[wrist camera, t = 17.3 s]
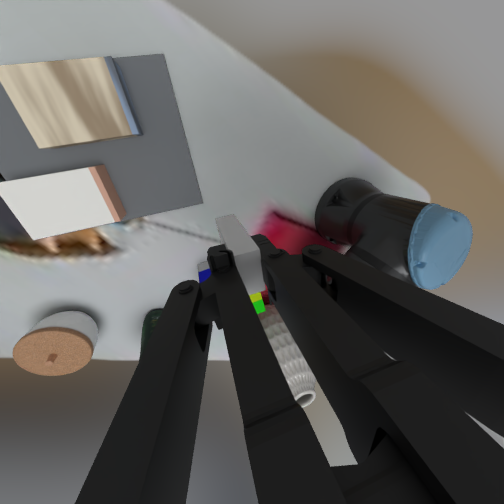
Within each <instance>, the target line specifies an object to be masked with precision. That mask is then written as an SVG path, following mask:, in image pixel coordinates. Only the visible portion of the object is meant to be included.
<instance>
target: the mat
mask: <svg viewBox="0 0 504 504" xmlns="http://www.w3.org/2000/svg"><path fill="white" fill-rule="evenodd" d="M113 60H114V61H115V62H116V63H117V64H118V66H119V67H120V69H121V72H122V75H123V78H124V80H125V83H126V86H127V89H128V92H129V95H130V98H131V100H132V103H133V106H134V109H135V112H136V115H137V118H138V120H139V123H140V126H141V129H142V132H143V135H142V136H135V137H128V138H122V139H115V140H109V141H102V142H96V143H89V144H82V145H76V146H69V147H63V148H54V149H39V147H38V146H37V144H36V142H35V141H34V139H33V137H32V135H31V134H30V132H29V130H28V128H27V127H26V125H25V123H24V122H23V120H22V118H21V116H20V115H19V113H18V111H17V110H16V108H15V106H14V104H13V103H12V101H11V99H10V97H9V96H8V94H7V92H6V91H5V89H4V87H3V85H2V84H1V82H0V173H1V174H2V175H3V177H4V178H5V180H6V181H11V180H16V179H22V178H28V177H34V176H40V175H46V174H51V173H57V172H63V171H69V170H75V169H81V168H87V167H92V166H98V165H105V168H106V170H107V172H108V174H109V176H110V178H111V181H112V183H113V185H114V187H115V189H116V192H117V194H118V196H119V198H120V200H121V202H122V205H123V207H124V209H125V211H126V213H127V214H126V215H125V217H124V218H123V219H122V220H121V221H124V220H129V219H133V218H138V217H142V216H147V215H152V214H156V213H161V212H165V211H170V210H174V209H179V208H184V207H188V206H193V205H197V204H202V203H203V201H202V197H201V193H200V190H199V186H198V182H197V178H196V175H195V171H194V167H193V163H192V160H191V156H190V152H189V148H188V145H187V141H186V137H185V133H184V130H183V126H182V122H181V118H180V114H179V111H178V107H177V103H176V99H175V96H174V92H173V88H172V84H171V81H170V77H169V73H168V69H167V66H166V62H165V58H164V54H155V55H143V56H131V57H120V58H113ZM118 222H120V221H118ZM114 223H115V222H114ZM109 224H111V223H109ZM104 225H106V224H104ZM100 226H101V225H100ZM95 227H97V226H95ZM91 228H92V227H91ZM86 229H88V228H86ZM82 230H83V229H82ZM77 231H79V230H77ZM72 232H74V231H72ZM68 233H70V232H68ZM63 234H65V233H63ZM59 235H60V234H59ZM54 236H56V235H54ZM50 237H51V236H50ZM46 238H47V237H46Z"/></svg>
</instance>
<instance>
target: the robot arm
mask: <svg viewBox="0 0 504 504" xmlns="http://www.w3.org/2000/svg"><path fill="white" fill-rule="evenodd" d="M215 220H216V224H217V228H218V232H219V236H220V240H221V245H217V246H214V247H210V248H209V249H208V251H207V253H208V257H207V261H208V264H209V267H210V271H211V275H210V276H209V278H208V279H206V280H205V281H203V282H201V283H198V282H197V281H195V280H187V281H183V282H181V283H179V284H178V285H176V286H175V287H174V288H173V289H172V291H171V293H170V295H169V298H168V300H167V302H166V304H165V306H164V309H163V311H162V313H161V315H160V317H159V320H158V322H157V324H156V326H155V328H154V331H153V333H152V335H151V337H150V339H149V342H148V344H147V346H146V348H145V350H144V353H143V355H142V357H141V359H140V361H139V364H138V366H137V368H136V370H135V372H134V375H133V377H132V379H131V381H130V383H129V386H128V388H127V390H126V392H125V394H124V397H123V399H122V401H121V403H120V405H119V408H118V410H117V412H116V414H115V416H114V419H113V421H112V423H111V425H110V427H109V430H108V432H107V434H106V436H105V439H104V441H103V443H102V445H101V447H100V449H99V452H98V454H97V456H96V458H95V460H94V463H93V465H92V467H91V469H90V471H89V474H88V476H87V478H86V480H85V482H84V485H83V487H82V489H81V491H80V494H79V496H78V498H77V500H76V502H75V504H186V498H187V492H188V485H189V478H190V471H191V465H192V457H193V452H194V445H195V439H196V432H197V425H198V419H199V412H200V405H201V399H202V392H203V386H204V378H205V372H206V366H207V359H208V352H209V346H210V339H211V332H212V326H213V325H212V321H214V320H216V319H217V318H219V317H221V321H222V326H223V330H224V335H225V340H226V344H227V349H228V354H229V358H230V363H231V368H232V372H233V377H234V381H235V386H236V391H237V395H238V400H239V404H240V409H241V414H242V419H243V424H244V435H245V440H246V445H247V450H248V455H249V460H250V464H251V470H252V474H253V479H254V484H255V488H256V494H257V498H258V503H259V504H504V325H503V324H501V323H498V322H496V321H494V320H492V319H489V318H487V317H485V316H482V315H480V314H478V313H475V312H473V311H471V310H469V309H466V308H464V307H462V306H460V305H457V304H455V303H453V302H450V301H448V300H446V299H444V298H441V297H439V296H436V295H434V294H432V293H429V292H428V291H425V290H423V289H429V290H430V289H436V288H438V287H440V285H444V284H446V283H447V282H448V281H449V280H450V279H451V278H452V277H453V276H454V275H455V274H456V273H457V272H458V270H459V269H460V267H461V266H462V264H463V263H464V261H465V259H466V257H467V255H468V252H469V249H470V246H471V242H472V235H473V233H472V226H471V223H470V221H469V219H468V218H467V217H466V216H465V215H464V214H462V213H460V212H458V211H455V210H451V209H448V208H444V207H441V206H440V205H438V204H433V203H432V204H430V203H425V202H420V201H416V200H411V199H407V198H402V197H397V196H393V195H388V194H384V193H383V192H381V191H380V190H379V189H377V188H376V187H375V186H373V185H372V184H371V183H369V182H368V181H365V180H362V179H357V178H346V179H343V180H340V181H338V182H337V183H335V184H334V185H332V186H331V187H330V188H329V189H328V190H327V191H326V192H325V193H324V195H323V196H322V198H321V199H320V201H319V204H318V206H317V209H316V214H315V224H316V228H317V231H318V233H319V234H320V235H321V236H322V237H323V238H324V239H326V240H327V241H329V242H331V243H333V244H337V245H344V246H351V248H350V249H349V250H348V251H347V252H346V253H345V255H343V254H341V253H338V252H336V251H334V250H331V249H329V248H327V247H325V246H322V245H316V244H313V245H309V246H306V247H304V248H303V249H302V254H299V255H289V254H288V253H287V252H286V251H285V250H283V249H277V248H276V247H275V246H274V245H273V244H272V243H271V242H270V241H269V240H268V238H267V237H266V236H264V235H261V234H258V235H254V236H250V235H249V234H248V233H247V231H246V230H245V229H244V227H243V226H242V224H241V223H240V222H239V220H238V219H237V218H236V216H235V215H234V214H233V215H228V216H224V217H220V218H216V219H215ZM265 284H266V286H267V288H268V295H269V302H270V306H271V305H272V302H273V304H274V305H275V307H276V309H277V311H278V313H279V314H280V316H281V318H282V320H283V321H284V323H285V325H286V327H287V328H288V330H289V332H290V334H291V336H292V337H293V339H294V341H295V343H296V344H297V346H298V348H299V350H300V351H301V353H302V355H303V357H304V359H305V360H306V362H307V364H308V366H309V367H310V369H311V371H312V373H313V374H314V376H315V378H316V380H317V382H318V383H319V385H320V387H321V389H322V390H323V392H324V394H325V396H326V397H327V399H328V401H329V403H330V405H331V406H332V408H333V410H334V412H335V413H336V415H337V417H338V419H339V421H340V423H341V424H342V427H343V429H344V432H345V435H346V439H347V442H348V444H349V447H350V449H351V451H352V453H353V455H354V457H355V459H356V461H357V463H358V464H357V465H347V466H334V467H330V465H329V463H328V461H327V458H326V456H325V454H324V452H323V450H322V448H321V445H320V443H319V441H318V439H317V437H316V435H315V432H314V430H313V428H312V426H311V424H310V421H309V419H308V418H307V415H306V413H305V412H304V410H303V408H302V407H301V405H299V404H298V403H297V402H296V400H295V398H294V396H293V394H292V392H291V390H290V387H289V385H288V383H287V380H286V378H285V376H284V374H283V371H282V369H281V367H280V365H279V362H278V360H277V358H276V356H275V353H274V351H273V349H272V346H271V344H270V342H269V340H268V337H267V335H266V333H265V331H264V328H263V326H262V324H261V321H260V319H259V317H258V315H257V312H256V310H255V308H254V306H253V303H252V301H251V299H250V296H249V295H251V294H255V293H258V292H261V291H264V290H266V288H265ZM418 287H420V288H418ZM421 288H423V289H421Z"/></svg>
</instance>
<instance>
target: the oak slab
mask: <svg viewBox="0 0 504 504" xmlns="http://www.w3.org/2000/svg"><path fill="white" fill-rule="evenodd" d="M0 82H1V84H2V85H3V87H4V89H5V91H6V92H7V94H8V96H9V97H10V99H11V101H12V103H13V104H14V106H15V108H16V110H17V111H18V113H19V115H20V116H21V118H22V120H23V122H24V123H25V125H26V127H27V128H28V130H29V132H30V134H31V135H32V137H33V139H34V141H35V142H36V144H37V146H38V147H39V149H54V148H63V147H69V146H76V145H82V144H89V143H96V142H102V141H109V140H115V139H122V138H128V137H135V136H142V135H143V132H142V129H141V126H140V123H139V120H138V118H137V115H136V112H135V109H134V106H133V103H132V100H131V98H130V95H129V92H128V89H127V86H126V83H125V80H124V78H123V75H122V72H121V69H120V67H119V66H118V64H117V63H116V62H115V61H114V60H113V58H112V57H111V56H108V57H96V58H84V59H72V60H61V61H49V62H37V63H25V64H13V65H1V66H0Z"/></svg>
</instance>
